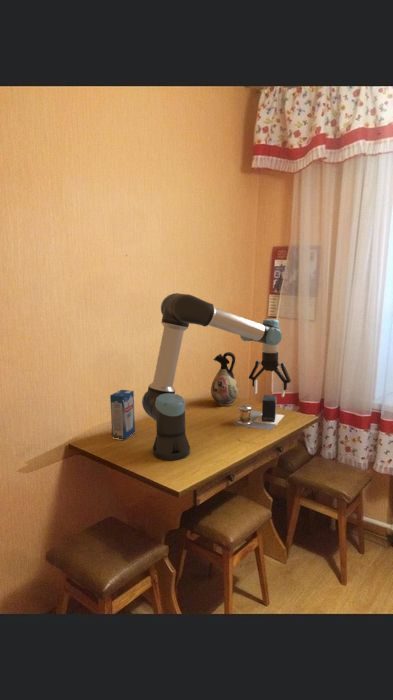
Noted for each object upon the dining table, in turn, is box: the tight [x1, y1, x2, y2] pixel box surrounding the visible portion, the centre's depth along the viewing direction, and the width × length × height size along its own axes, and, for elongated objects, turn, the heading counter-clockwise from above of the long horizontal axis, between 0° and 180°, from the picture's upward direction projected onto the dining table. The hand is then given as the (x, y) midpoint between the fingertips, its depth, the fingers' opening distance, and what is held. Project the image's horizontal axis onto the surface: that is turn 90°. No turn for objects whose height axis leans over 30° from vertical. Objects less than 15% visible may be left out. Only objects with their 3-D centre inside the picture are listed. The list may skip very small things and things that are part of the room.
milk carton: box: [109, 389, 136, 440], centre depth 192 cm, size 10×6×20 cm, turn 160°
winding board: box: [232, 410, 286, 431], centre depth 210 cm, size 19×24×2 cm
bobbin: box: [237, 404, 253, 425], centre depth 204 cm, size 7×7×8 cm
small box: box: [261, 394, 277, 422], centre depth 209 cm, size 11×6×10 cm, turn 167°
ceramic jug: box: [210, 351, 239, 407], centre depth 238 cm, size 17×15×30 cm
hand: (269, 394), depth 208 cm, fingers open, 13 cm apart
